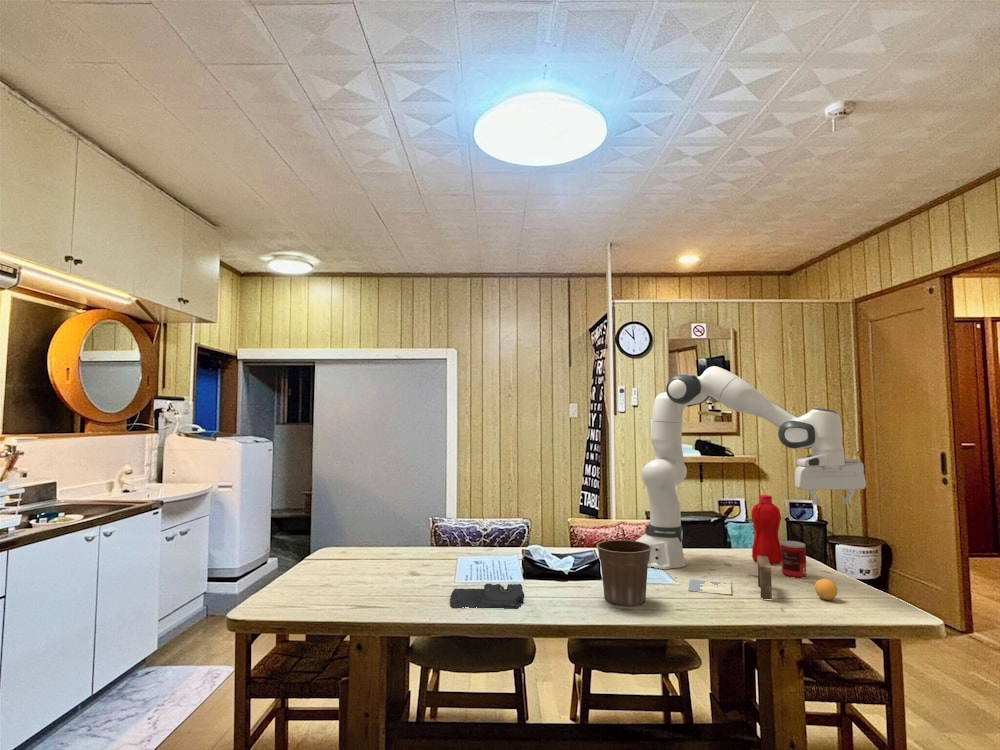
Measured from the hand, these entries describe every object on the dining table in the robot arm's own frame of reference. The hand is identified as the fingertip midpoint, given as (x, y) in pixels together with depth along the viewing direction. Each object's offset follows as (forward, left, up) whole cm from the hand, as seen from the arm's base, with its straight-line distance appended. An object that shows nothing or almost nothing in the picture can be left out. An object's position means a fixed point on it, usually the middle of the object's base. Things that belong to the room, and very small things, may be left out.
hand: (831, 504), depth 183 cm
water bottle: (-17, +36, -28) cm, 49 cm away
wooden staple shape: (-20, -6, -28) cm, 35 cm away
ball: (-3, -6, -25) cm, 26 cm away
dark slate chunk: (-98, -44, -29) cm, 112 cm away
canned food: (-9, +20, -28) cm, 36 cm away
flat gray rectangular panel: (-36, -6, -28) cm, 46 cm away
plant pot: (-60, -29, -28) cm, 73 cm away
